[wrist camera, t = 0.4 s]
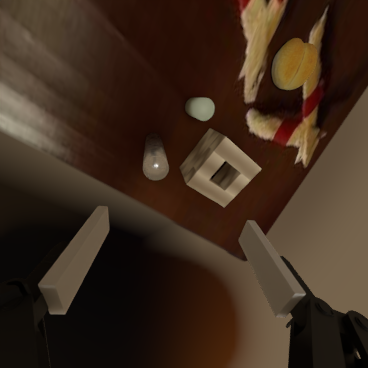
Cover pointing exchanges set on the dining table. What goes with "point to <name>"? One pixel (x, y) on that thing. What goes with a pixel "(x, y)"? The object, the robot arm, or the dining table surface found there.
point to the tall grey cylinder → (155, 158)
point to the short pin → (200, 108)
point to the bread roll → (293, 64)
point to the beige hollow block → (211, 161)
